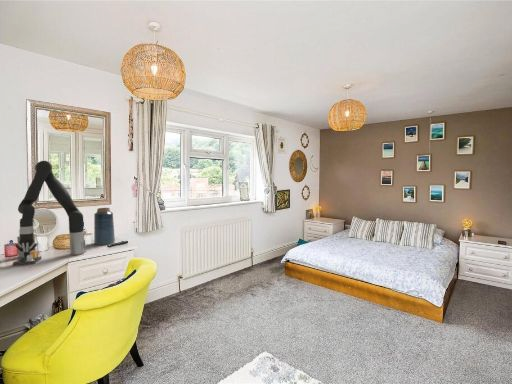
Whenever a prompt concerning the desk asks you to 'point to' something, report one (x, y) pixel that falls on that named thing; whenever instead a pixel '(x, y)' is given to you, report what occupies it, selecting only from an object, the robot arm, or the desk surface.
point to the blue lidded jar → (103, 227)
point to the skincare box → (21, 254)
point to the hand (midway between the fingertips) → (26, 257)
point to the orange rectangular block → (34, 254)
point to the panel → (27, 260)
